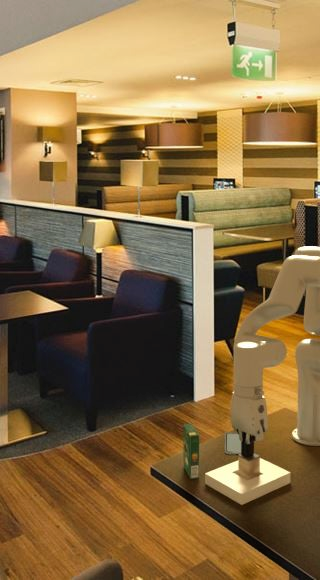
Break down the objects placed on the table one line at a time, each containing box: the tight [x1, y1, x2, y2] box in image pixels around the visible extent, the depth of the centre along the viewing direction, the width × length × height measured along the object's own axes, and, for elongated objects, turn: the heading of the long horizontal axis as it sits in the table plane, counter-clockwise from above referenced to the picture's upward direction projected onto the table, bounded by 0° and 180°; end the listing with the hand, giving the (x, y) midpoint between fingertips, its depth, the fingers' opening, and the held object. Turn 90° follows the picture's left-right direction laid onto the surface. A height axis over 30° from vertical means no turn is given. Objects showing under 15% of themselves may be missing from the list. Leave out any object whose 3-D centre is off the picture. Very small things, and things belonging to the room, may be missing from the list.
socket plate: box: [204, 457, 291, 506], centre depth 168 cm, size 18×14×3 cm
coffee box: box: [182, 423, 200, 480], centre depth 173 cm, size 8×3×13 cm, turn 11°
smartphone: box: [224, 432, 242, 455], centre depth 192 cm, size 7×1×15 cm
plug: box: [237, 452, 261, 481], centre depth 167 cm, size 4×4×8 cm
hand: (247, 455), depth 166 cm, fingers closed
